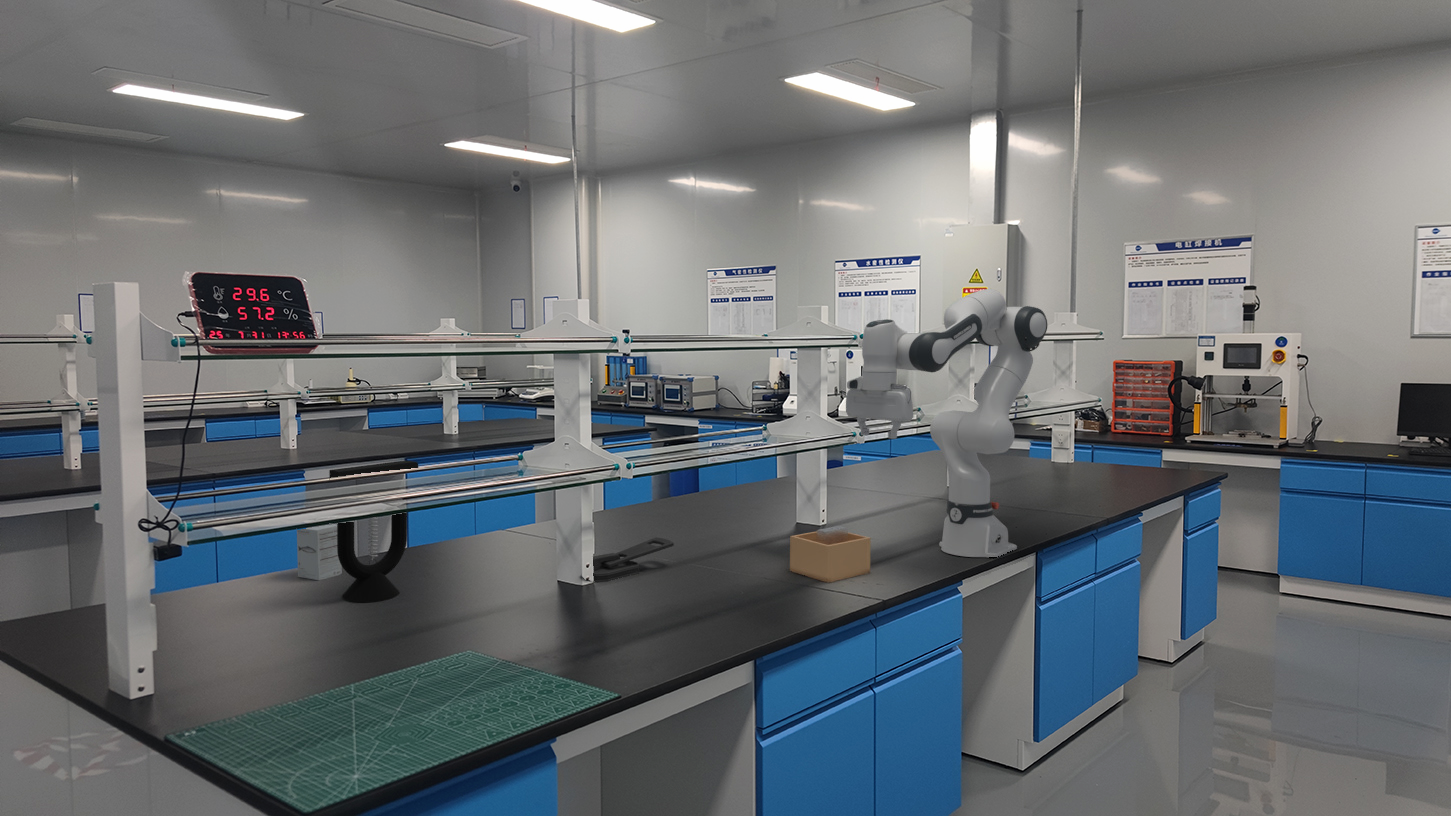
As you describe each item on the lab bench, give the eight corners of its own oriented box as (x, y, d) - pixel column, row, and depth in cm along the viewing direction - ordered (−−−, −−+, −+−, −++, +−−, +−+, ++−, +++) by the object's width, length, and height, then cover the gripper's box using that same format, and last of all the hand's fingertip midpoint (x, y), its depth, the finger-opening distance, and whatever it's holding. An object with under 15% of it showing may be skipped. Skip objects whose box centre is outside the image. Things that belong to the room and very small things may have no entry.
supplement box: (296, 577, 220) (295, 526, 219) (322, 570, 227) (320, 521, 226) (318, 581, 217) (316, 529, 216) (343, 574, 224) (341, 524, 223)
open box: (831, 562, 238) (832, 528, 237) (870, 572, 227) (870, 537, 226) (789, 571, 228) (790, 536, 228) (827, 582, 218) (828, 546, 217)
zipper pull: (677, 541, 232) (595, 557, 215) (677, 567, 232) (596, 584, 216) (656, 536, 238) (575, 550, 222) (656, 560, 239) (576, 576, 222)
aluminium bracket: (824, 571, 224) (825, 532, 224) (808, 566, 229) (808, 527, 228) (847, 566, 229) (847, 527, 229) (830, 561, 234) (831, 523, 233)
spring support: (352, 609, 195) (348, 472, 192) (318, 600, 201) (314, 467, 199) (430, 587, 212) (427, 461, 210) (396, 579, 219) (393, 457, 216)
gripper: (919, 384, 224) (918, 439, 225) (858, 381, 240) (858, 432, 241) (902, 385, 220) (901, 441, 221) (842, 381, 236) (841, 434, 237)
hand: (878, 436), depth 231 cm, fingers open, 8 cm apart
